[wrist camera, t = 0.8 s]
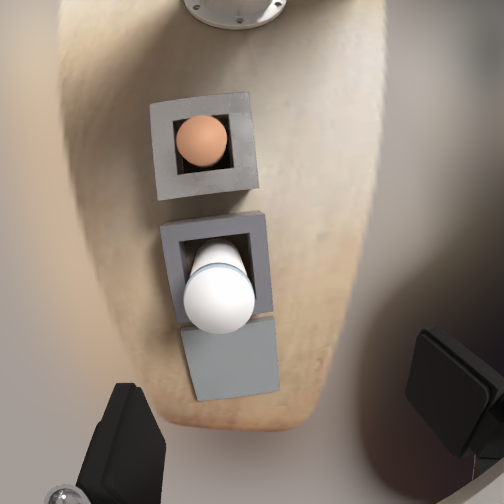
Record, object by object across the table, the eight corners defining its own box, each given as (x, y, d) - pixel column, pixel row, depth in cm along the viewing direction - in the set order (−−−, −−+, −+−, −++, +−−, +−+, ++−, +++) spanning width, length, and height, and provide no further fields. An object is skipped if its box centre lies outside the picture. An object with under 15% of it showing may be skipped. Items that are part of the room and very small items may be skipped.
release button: (181, 130, 26) (174, 118, 21) (223, 125, 26) (224, 112, 21) (185, 170, 27) (178, 166, 22) (227, 165, 27) (229, 160, 22)
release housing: (160, 117, 28) (149, 104, 23) (243, 107, 29) (249, 91, 23) (167, 198, 30) (158, 200, 25) (252, 187, 31) (259, 188, 26)
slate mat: (181, 327, 33) (180, 331, 32) (272, 316, 34) (274, 319, 33) (198, 396, 36) (197, 401, 35) (278, 386, 37) (279, 390, 36)
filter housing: (166, 221, 31) (159, 227, 27) (258, 210, 31) (264, 213, 28) (181, 308, 33) (177, 323, 29) (267, 297, 34) (273, 311, 30)
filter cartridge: (191, 240, 31) (176, 272, 20) (239, 235, 32) (251, 263, 20) (198, 286, 33) (189, 338, 21) (244, 280, 33) (258, 330, 21)
